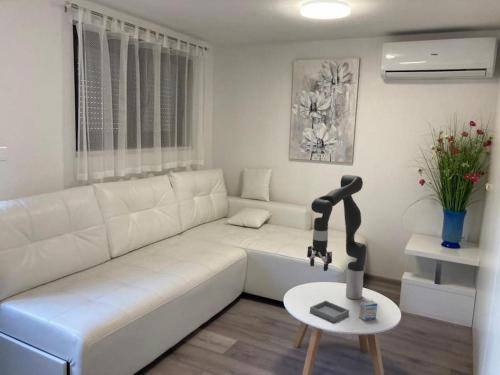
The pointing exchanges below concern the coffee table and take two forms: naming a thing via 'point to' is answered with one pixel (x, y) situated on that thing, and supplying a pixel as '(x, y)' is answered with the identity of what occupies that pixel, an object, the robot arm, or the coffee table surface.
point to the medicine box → (368, 310)
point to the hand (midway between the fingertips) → (318, 268)
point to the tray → (329, 311)
